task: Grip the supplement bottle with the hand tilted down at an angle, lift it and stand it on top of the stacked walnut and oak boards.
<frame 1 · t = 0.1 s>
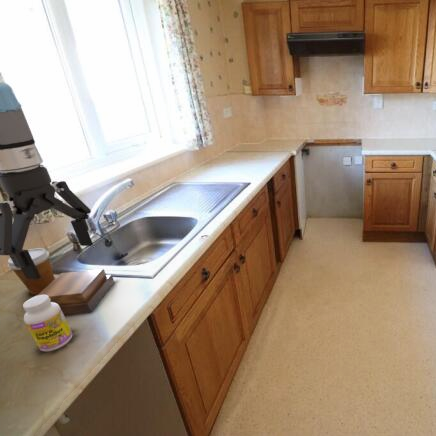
hand: (62, 260, 72), 22 cm above the counter, tool pointing down, fingers open, 13 cm apart
board stack: (78, 299, 95), on the counter
disposable coffee cup: (44, 288, 101), on the counter
supplement bottle: (57, 342, 80), on the counter
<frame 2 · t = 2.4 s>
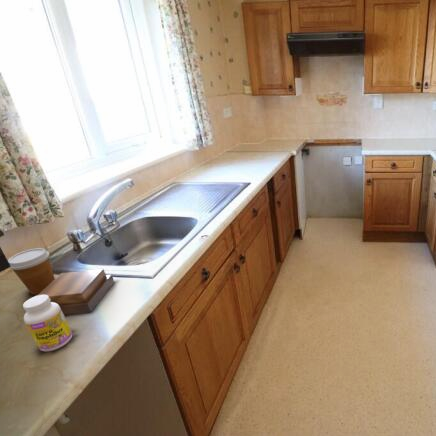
nothing on the counter moved.
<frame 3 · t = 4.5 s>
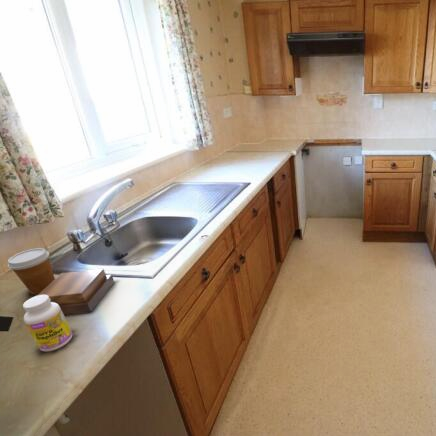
nothing on the counter moved.
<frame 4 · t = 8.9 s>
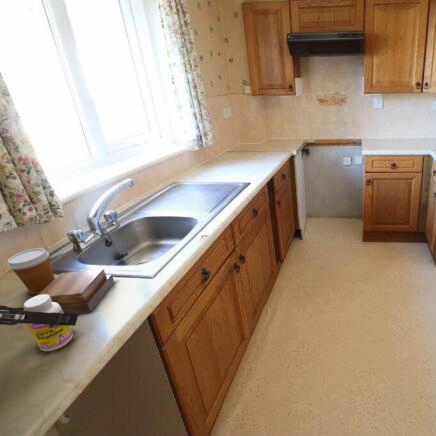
hand: (62, 318, 81), 4 cm above the counter, tool tilted 45°, fingers closed on supplement bottle, 7 cm apart
supplement bottle: (57, 342, 80), on the counter, touching gripper
everything else where it was.
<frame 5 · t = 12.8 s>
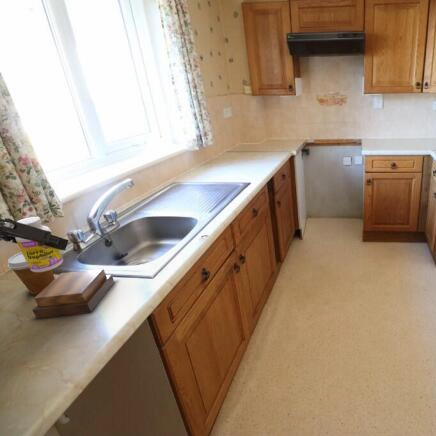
hand: (53, 244, 83), 20 cm above the counter, tool tilted 45°, fingers closed on supplement bottle, 7 cm apart
supplement bottle: (48, 266, 82), point 16 cm above the counter, touching gripper
everything else where it was.
when the fingers open (10 cm above the counter, at t = 16.8 s): supplement bottle stays where it is, resting on board stack.
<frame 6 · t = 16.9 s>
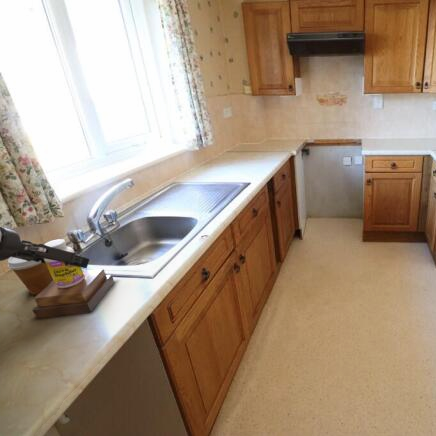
hand: (75, 263, 94), 10 cm above the counter, tool tilted 45°, fingers open, 7 cm apart
supplement bottle: (71, 282, 93), point 6 cm above the counter, touching board stack
everything else where it was.
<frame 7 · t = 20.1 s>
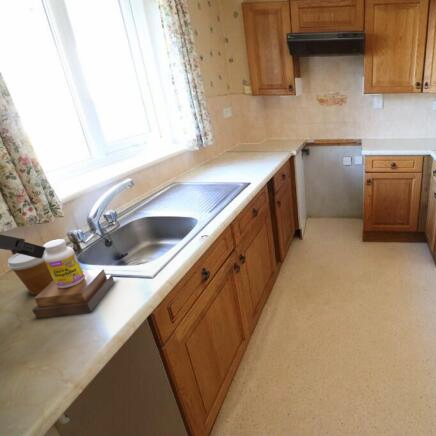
hand: (18, 252, 79), 21 cm above the counter, tool tilted 45°, fingers open, 13 cm apart
nothing on the counter moved.
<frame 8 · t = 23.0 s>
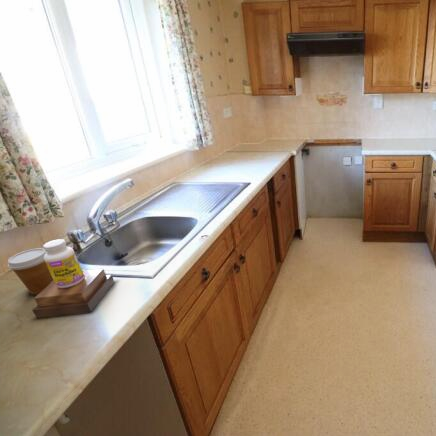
nothing on the counter moved.
at the end: supplement bottle inside the target area on the board stack (0.2 cm from its centre), point 5.8 cm above the board stack's base; supplement bottle tilted 0°; the gripper is holding nothing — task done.
